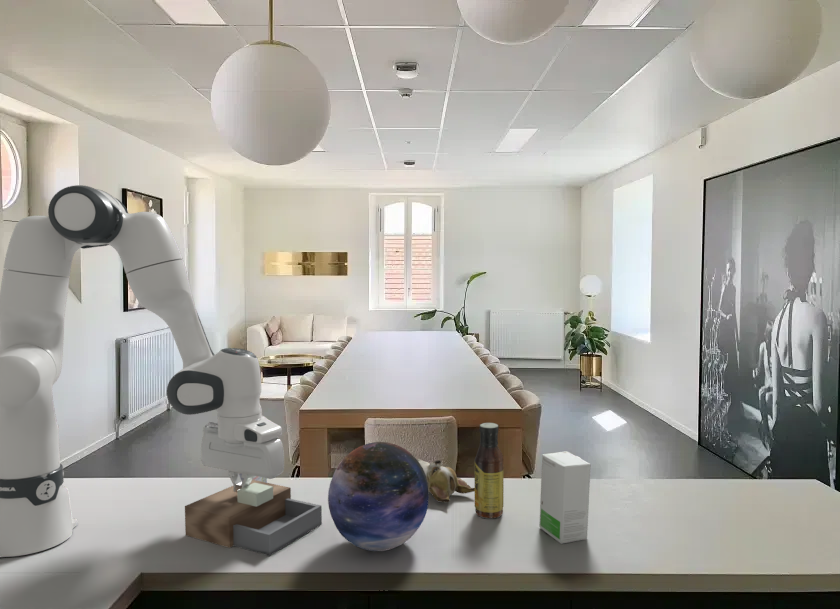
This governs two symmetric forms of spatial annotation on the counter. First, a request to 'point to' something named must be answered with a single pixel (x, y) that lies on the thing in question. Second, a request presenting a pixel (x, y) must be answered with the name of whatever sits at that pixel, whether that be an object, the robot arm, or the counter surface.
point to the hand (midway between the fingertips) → (241, 492)
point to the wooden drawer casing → (231, 514)
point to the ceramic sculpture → (443, 481)
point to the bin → (280, 528)
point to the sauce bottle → (489, 474)
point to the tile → (255, 494)
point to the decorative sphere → (378, 496)
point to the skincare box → (564, 496)
